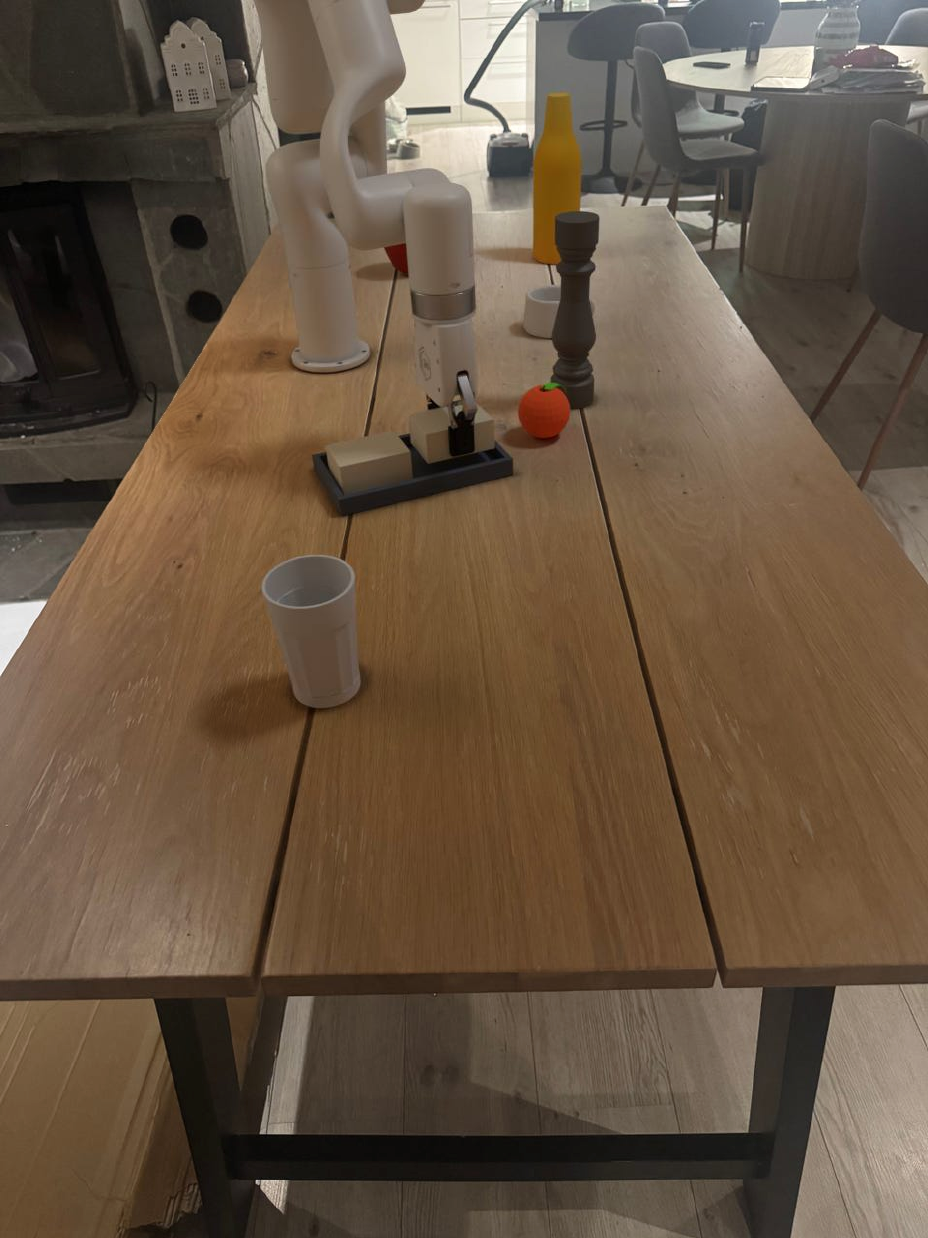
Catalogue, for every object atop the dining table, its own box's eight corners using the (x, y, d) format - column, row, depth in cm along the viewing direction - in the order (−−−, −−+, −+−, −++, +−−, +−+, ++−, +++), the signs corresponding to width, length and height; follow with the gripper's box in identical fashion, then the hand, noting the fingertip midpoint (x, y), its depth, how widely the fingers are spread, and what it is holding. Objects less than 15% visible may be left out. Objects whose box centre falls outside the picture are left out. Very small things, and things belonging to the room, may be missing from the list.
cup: (287, 661, 90) (265, 558, 82) (369, 653, 90) (355, 550, 83) (281, 718, 83) (257, 612, 76) (369, 710, 84) (354, 604, 76)
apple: (406, 261, 189) (401, 198, 182) (448, 268, 184) (445, 204, 176) (371, 276, 182) (364, 211, 175) (414, 285, 177) (409, 218, 170)
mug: (526, 341, 152) (526, 304, 148) (520, 320, 160) (520, 285, 156) (598, 336, 152) (600, 300, 148) (589, 316, 160) (591, 280, 156)
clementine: (546, 416, 130) (547, 367, 125) (585, 431, 125) (587, 381, 121) (507, 436, 125) (506, 386, 121) (546, 452, 121) (546, 401, 117)
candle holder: (591, 410, 130) (599, 223, 115) (547, 408, 132) (549, 223, 116) (595, 391, 135) (603, 210, 120) (553, 389, 136) (555, 210, 121)
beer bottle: (580, 264, 183) (586, 97, 165) (533, 265, 183) (534, 99, 165) (576, 250, 190) (581, 88, 172) (531, 251, 190) (532, 91, 172)
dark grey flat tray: (314, 470, 120) (311, 454, 119) (474, 434, 126) (474, 418, 125) (341, 516, 111) (338, 499, 109) (513, 474, 117) (513, 458, 115)
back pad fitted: (329, 473, 118) (325, 444, 115) (396, 458, 120) (393, 429, 118) (343, 496, 113) (339, 467, 110) (413, 479, 115) (410, 451, 113)
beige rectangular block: (410, 442, 119) (408, 414, 117) (475, 428, 122) (473, 399, 119) (428, 463, 115) (425, 434, 112) (494, 448, 117) (493, 419, 115)
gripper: (388, 285, 112) (401, 421, 123) (439, 330, 100) (449, 478, 110) (446, 275, 115) (454, 410, 125) (503, 318, 102) (506, 464, 112)
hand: (451, 440), depth 118 cm, fingers closed on beige rectangular block, 6 cm apart
